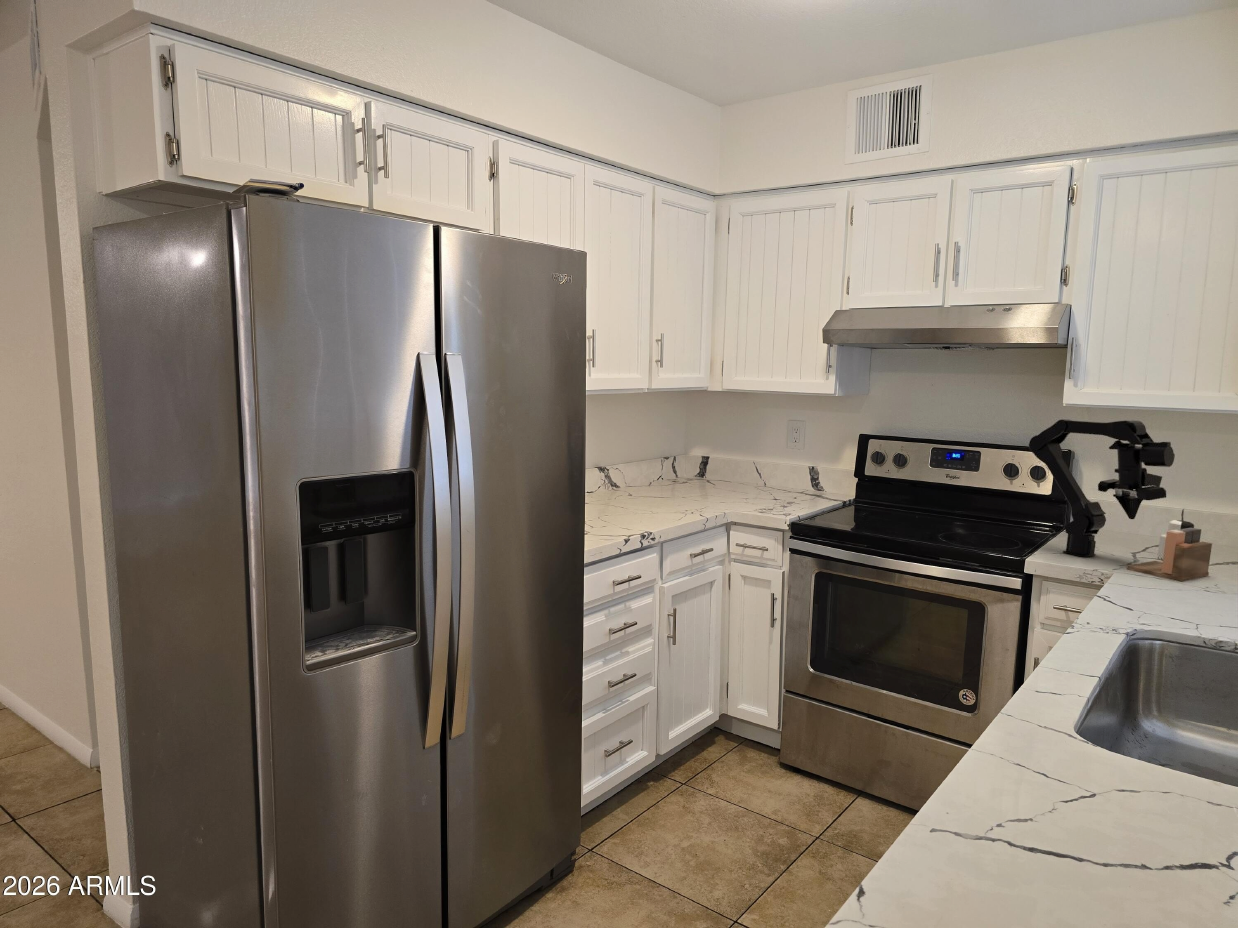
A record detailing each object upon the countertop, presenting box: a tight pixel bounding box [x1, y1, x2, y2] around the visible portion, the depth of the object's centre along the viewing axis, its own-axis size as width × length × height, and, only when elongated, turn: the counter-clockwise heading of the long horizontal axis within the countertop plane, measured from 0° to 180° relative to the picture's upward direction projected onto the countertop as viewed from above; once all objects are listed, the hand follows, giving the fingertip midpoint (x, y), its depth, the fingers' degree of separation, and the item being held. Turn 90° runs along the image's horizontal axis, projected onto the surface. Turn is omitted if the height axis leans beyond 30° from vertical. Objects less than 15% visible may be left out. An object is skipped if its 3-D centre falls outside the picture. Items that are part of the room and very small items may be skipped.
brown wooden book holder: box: [1126, 527, 1213, 583], centre depth 221 cm, size 14×16×12 cm
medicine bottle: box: [1157, 519, 1195, 560], centre depth 236 cm, size 7×7×12 cm
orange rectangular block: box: [1161, 530, 1186, 574], centre depth 216 cm, size 2×5×11 cm, turn 122°
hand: (1132, 518), depth 229 cm, fingers closed
